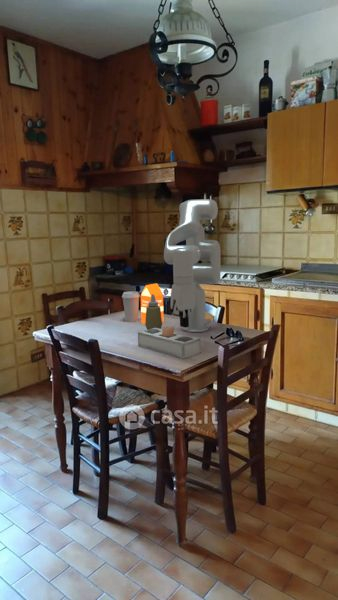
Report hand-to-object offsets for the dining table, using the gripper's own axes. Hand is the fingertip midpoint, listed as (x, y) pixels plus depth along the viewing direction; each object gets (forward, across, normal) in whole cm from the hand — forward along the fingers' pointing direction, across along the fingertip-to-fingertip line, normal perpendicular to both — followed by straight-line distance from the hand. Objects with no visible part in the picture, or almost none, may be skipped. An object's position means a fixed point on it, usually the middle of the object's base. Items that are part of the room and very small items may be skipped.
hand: (184, 326), depth 166 cm
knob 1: (+10, +1, -17) cm, 20 cm away
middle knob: (+7, +1, -8) cm, 11 cm away
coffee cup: (+13, -22, -59) cm, 64 cm away
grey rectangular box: (+11, +1, -8) cm, 14 cm away
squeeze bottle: (+12, -14, -33) cm, 38 cm away
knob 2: (+9, +1, +1) cm, 9 cm away
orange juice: (+13, -26, -47) cm, 55 cm away
